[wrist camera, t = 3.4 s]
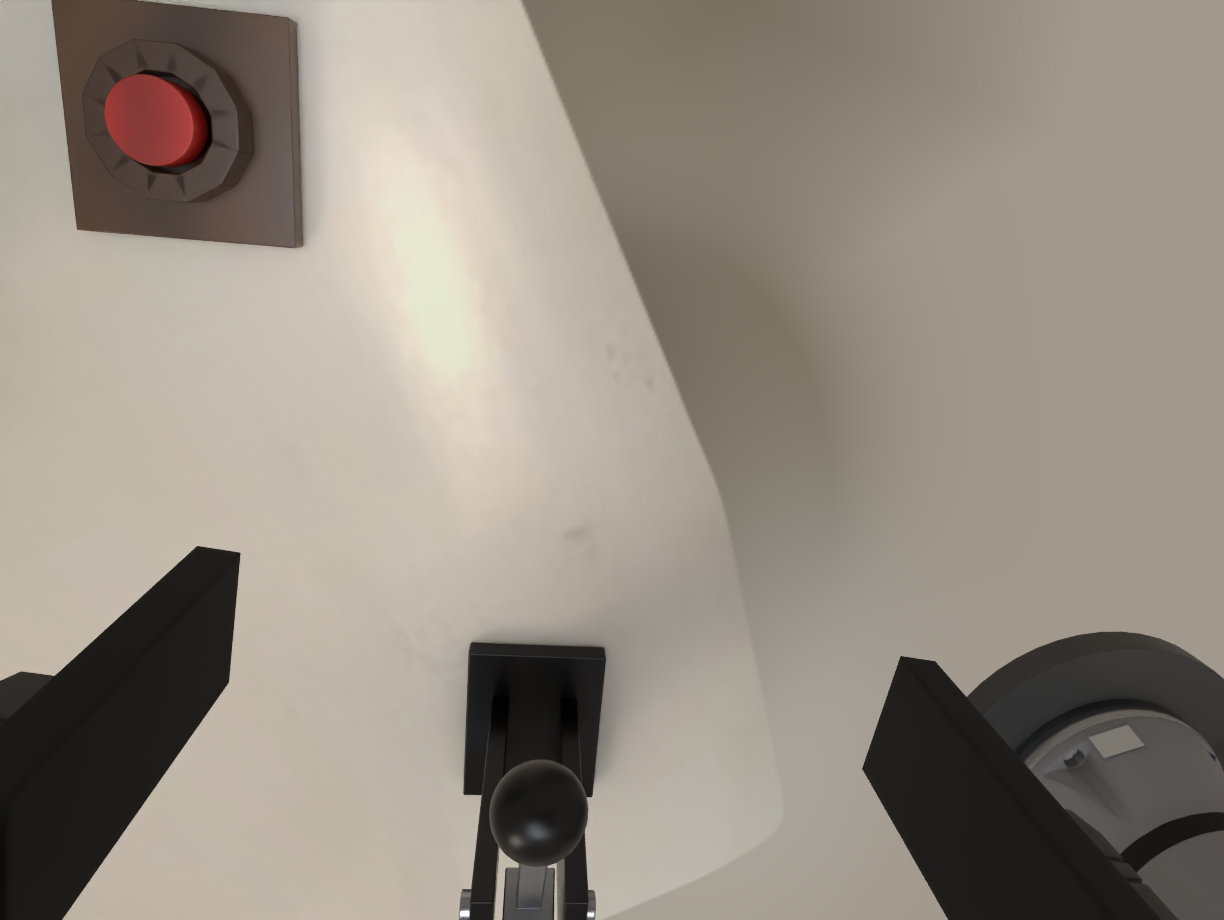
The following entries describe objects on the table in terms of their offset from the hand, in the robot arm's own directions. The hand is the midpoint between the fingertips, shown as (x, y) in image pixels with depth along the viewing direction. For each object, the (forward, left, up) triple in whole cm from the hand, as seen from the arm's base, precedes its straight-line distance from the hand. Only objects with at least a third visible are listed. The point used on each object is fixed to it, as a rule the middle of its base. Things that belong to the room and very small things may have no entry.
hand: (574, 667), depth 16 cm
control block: (+18, -10, -29) cm, 35 cm away
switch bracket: (0, +22, -29) cm, 36 cm away
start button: (+18, -10, -26) cm, 33 cm away
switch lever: (0, +16, -14) cm, 21 cm away
